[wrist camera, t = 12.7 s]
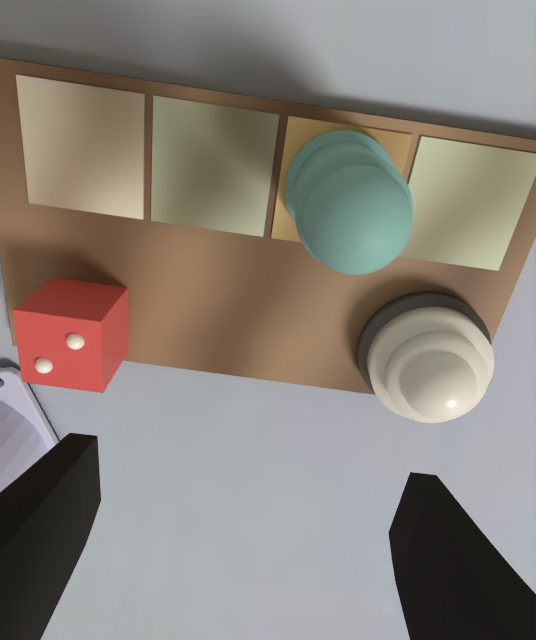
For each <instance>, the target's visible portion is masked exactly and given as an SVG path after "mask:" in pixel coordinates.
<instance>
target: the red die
mask: <svg viewBox="0 0 536 640" xmlns="http://www.w3.org/2000/svg"><path fill="white" fill-rule="evenodd" d="M12 311H13V318H14V326H15V333H16V341H17V348H18V356H19V363H20V371H21V378H22V382H25V383H33V384H40V385H48V386H55V387H63V388H70V389H78V390H85V391H93V392H100V393H103V392H104V391H105V389H106V387H107V386H108V384H109V382H110V381H111V379H112V377H113V376H114V374H115V372H116V371H117V369H118V368H119V366H120V364H121V363H122V361H123V359H124V358H125V356H126V354H127V353H128V288H125V287H118V286H111V285H104V284H97V283H90V282H82V281H75V280H68V279H61V278H54V277H53V278H51V279H50V280H49V281H48V282H46V283H45V284H44V285H43V286H41V287H40V288H39V289H38V290H36V291H35V292H34V293H33V294H31V295H30V296H29V297H28V298H27V299H25V300H24V301H23V302H22V303H20V304H19V305H18V306H17V307H15V308H14V309H13V310H12Z"/></svg>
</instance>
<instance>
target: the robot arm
mask: <svg viewBox="0 0 536 640" xmlns="http://www.w3.org/2000/svg"><path fill="white" fill-rule="evenodd" d="M0 378H1V379H2V380H3V381H4V382H3V381H1V380H0V640H40V639H41V637H42V635H43V633H44V631H45V629H46V627H47V625H48V623H49V621H50V618H51V616H52V614H53V612H54V610H55V608H56V606H57V604H58V602H59V600H60V598H61V596H62V593H63V591H64V589H65V587H66V585H67V583H68V581H69V579H70V577H71V575H72V573H73V570H74V568H75V566H76V564H77V562H78V560H79V558H80V556H81V554H82V551H83V549H84V547H85V545H86V542H87V539H88V536H89V534H90V531H91V528H92V525H93V522H94V520H95V517H96V514H97V511H98V508H99V505H100V502H101V492H100V475H99V458H98V440H97V436H93V435H84V434H76V433H69V434H68V435H67V436H65V437H64V438H63V439H62V440H61V441H60V442H59V441H58V439H57V437H56V436H55V434H54V432H53V430H52V428H51V426H50V425H49V423H48V421H47V419H46V417H45V415H44V414H43V412H42V410H41V408H40V406H39V404H38V402H37V401H36V399H35V397H34V395H33V393H32V391H31V390H30V388H29V386H28V384H27V383H25V382H22V378H21V372H20V371H19V370H17V369H16V368H13V367H6V368H0ZM389 539H390V547H391V555H392V562H393V569H394V576H395V581H396V585H397V589H398V593H399V597H400V601H401V605H402V609H403V613H404V617H405V621H406V625H407V629H408V633H409V637H410V640H536V594H535V593H534V592H533V591H532V590H531V589H530V587H529V586H528V585H527V584H526V583H525V582H524V581H523V580H522V579H521V577H520V576H519V575H518V574H517V573H516V572H515V571H514V569H513V568H512V567H511V566H510V565H509V564H508V562H507V561H506V560H505V559H504V558H503V557H502V555H501V554H500V553H499V552H498V551H497V550H496V548H495V547H494V546H493V545H492V544H491V542H490V541H489V540H488V539H487V537H486V536H485V535H484V534H483V533H482V531H481V530H480V529H479V528H478V526H477V525H476V524H475V523H474V521H473V520H472V519H471V518H470V517H469V515H468V514H467V513H466V512H465V510H464V509H463V508H462V507H461V505H460V504H459V503H458V501H457V500H456V499H455V498H454V496H453V495H452V494H451V493H450V491H449V490H448V489H447V488H446V486H445V485H444V484H443V483H442V482H441V480H440V479H439V478H438V477H437V475H429V474H421V473H412V472H410V475H409V477H408V480H407V483H406V486H405V489H404V491H403V494H402V497H401V500H400V503H399V505H398V508H397V511H396V514H395V516H394V519H393V522H392V525H391V528H390V530H389Z"/></svg>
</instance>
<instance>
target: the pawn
mask: <svg viewBox="0 0 536 640" xmlns="http://www.w3.org/2000/svg"><path fill="white" fill-rule="evenodd" d="M285 199H286V204H287V208H288V211H289V213H290V216H291V218H292V219H293V221H294V223H295V224H296V229H297V232H298V236H299V238H300V240H301V242H302V244H303V246H304V247H305V249H306V250H307V251H308V253H309V254H310V255H311V256H312V257H314V258H315V259H316V260H317V261H319V262H320V263H322V264H324V265H325V266H327V267H328V268H330V269H332V270H334V271H337V272H340V273H344V274H349V275H362V274H368V273H372V272H374V271H377V270H379V269H381V268H383V267H385V266H386V265H388V264H389V263H391V262H392V261H393V260H394V259H395V258H396V257H397V256H398V255H399V254H400V252H401V251H402V249H403V248H404V246H405V244H406V243H407V240H408V238H409V235H410V231H411V227H412V214H413V202H412V196H411V192H410V189H409V187H408V185H407V182H406V181H405V179H404V178H403V176H402V175H401V174H400V172H399V171H398V170H397V169H396V168H395V167H394V164H393V162H392V160H391V158H390V156H389V155H388V153H387V152H386V151H385V149H384V148H383V147H382V146H381V145H380V144H379V143H377V142H376V141H375V140H373V139H372V138H370V137H368V136H367V135H364V134H362V133H360V132H356V131H352V130H334V131H329V132H326V133H323V134H321V135H318V136H316V137H315V138H313V139H311V140H310V141H309V142H307V143H306V144H305V145H304V146H303V147H302V148H301V149H300V150H299V151H298V153H297V154H296V155H295V157H294V158H293V160H292V162H291V164H290V167H289V169H288V172H287V176H286V182H285Z"/></svg>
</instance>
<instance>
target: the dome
mask: <svg viewBox="0 0 536 640" xmlns="http://www.w3.org/2000/svg"><path fill="white" fill-rule="evenodd" d="M367 368H368V372H369V376H370V380H371V383H372V386H373V390H374V392H375V394H376V396H377V397H378V399H379V400H380V402H381V403H382V404H383V405H384V406H385V407H387V408H388V409H389V410H391V411H392V412H394V413H396V414H398V415H401V416H404V417H407V418H410V419H412V420H415V421H419V422H425V423H438V422H444V421H449V420H452V419H455V418H457V417H459V416H461V415H463V414H465V413H467V412H468V411H469V410H471V409H472V408H473V407H474V406H475V405H476V404H477V403H478V402H479V401H480V400H481V398H482V397H483V395H484V393H485V392H486V389H487V386H488V384H489V382H490V380H491V377H492V375H493V370H494V354H493V350H492V347H491V345H490V343H489V341H488V340H487V339H486V337H485V336H484V335H483V333H482V332H481V331H480V330H479V328H478V327H477V326H476V325H475V323H474V322H473V321H471V320H470V319H469V318H468V317H467V316H465V315H464V314H462V313H460V312H458V311H455V310H452V309H449V308H444V307H435V306H434V307H422V308H417V309H413V310H410V311H407V312H404V313H402V314H400V315H398V316H396V317H395V318H393V319H392V320H390V321H389V322H388V323H387V324H385V325H384V326H383V327H382V328H381V329H380V331H379V332H378V333H377V334H376V336H375V337H374V339H373V341H372V343H371V345H370V348H369V350H368V355H367Z"/></svg>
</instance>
